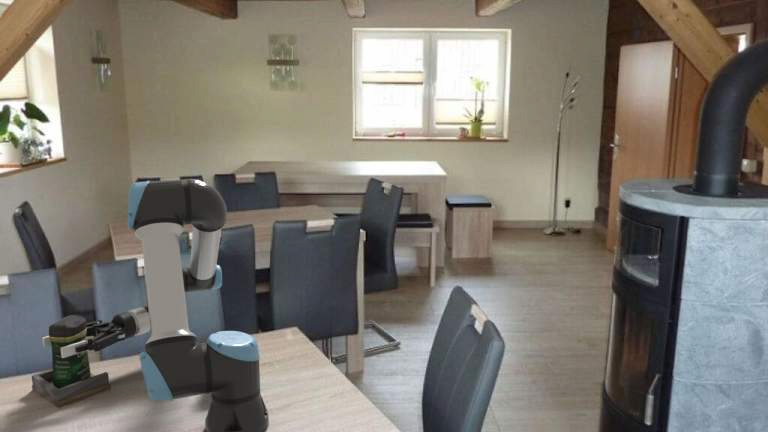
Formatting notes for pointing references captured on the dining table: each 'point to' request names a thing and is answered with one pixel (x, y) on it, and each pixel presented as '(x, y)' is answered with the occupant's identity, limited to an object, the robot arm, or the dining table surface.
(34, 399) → the dining table surface
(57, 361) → the coffee jar
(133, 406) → the dining table surface
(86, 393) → the rail dock
